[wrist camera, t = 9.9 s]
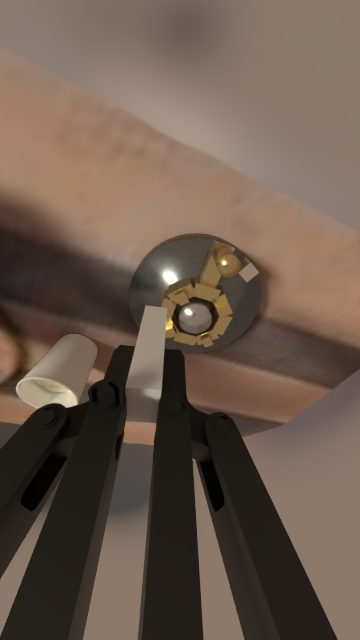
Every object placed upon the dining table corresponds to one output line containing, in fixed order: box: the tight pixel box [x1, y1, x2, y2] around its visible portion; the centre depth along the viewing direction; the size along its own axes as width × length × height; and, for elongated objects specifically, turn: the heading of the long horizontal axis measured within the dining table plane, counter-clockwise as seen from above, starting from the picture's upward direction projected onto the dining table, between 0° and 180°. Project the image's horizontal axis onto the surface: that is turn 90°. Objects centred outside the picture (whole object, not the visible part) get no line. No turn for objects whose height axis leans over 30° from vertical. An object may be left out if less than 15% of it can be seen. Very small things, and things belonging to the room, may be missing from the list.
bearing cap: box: [129, 234, 261, 354], centre depth 32 cm, size 22×22×7 cm
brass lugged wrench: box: [160, 240, 241, 348], centre depth 28 cm, size 17×11×7 cm, turn 162°
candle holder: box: [16, 334, 98, 409], centre depth 37 cm, size 10×10×12 cm
